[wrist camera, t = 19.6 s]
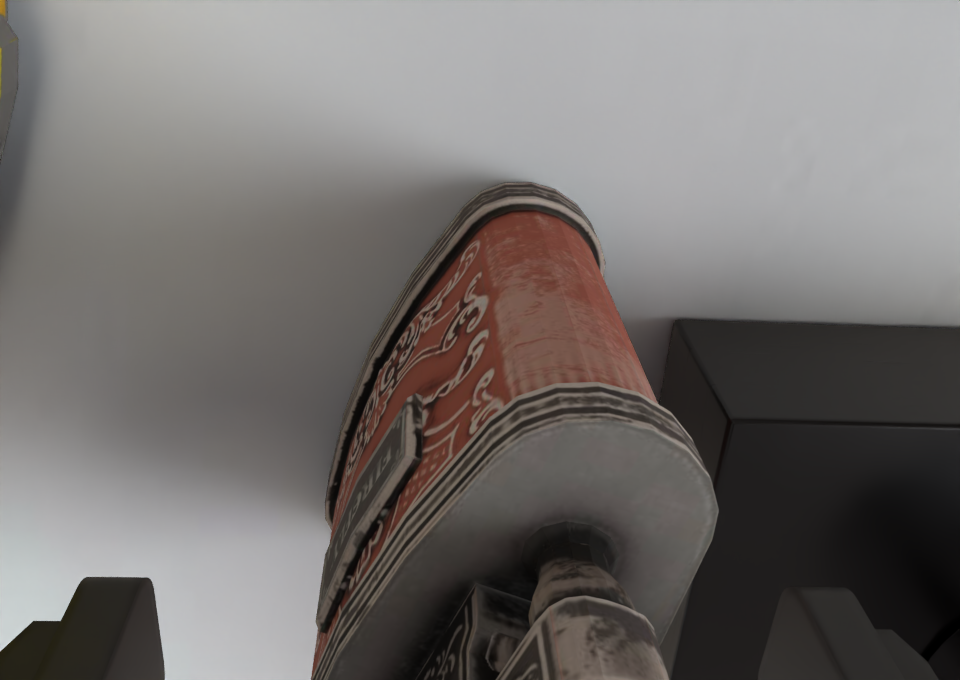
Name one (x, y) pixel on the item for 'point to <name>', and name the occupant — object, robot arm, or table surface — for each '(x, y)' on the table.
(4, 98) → the gaming controller
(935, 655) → the hob knob
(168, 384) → the table surface
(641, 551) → the lighter
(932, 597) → the dial base
